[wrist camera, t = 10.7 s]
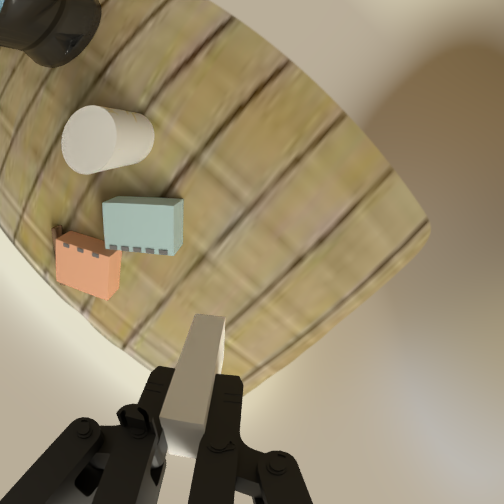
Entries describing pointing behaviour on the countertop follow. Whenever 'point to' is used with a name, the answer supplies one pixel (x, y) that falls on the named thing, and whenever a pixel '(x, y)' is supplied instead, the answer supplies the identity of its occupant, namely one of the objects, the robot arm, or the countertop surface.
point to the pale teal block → (143, 224)
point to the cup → (105, 139)
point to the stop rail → (56, 233)
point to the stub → (87, 264)
